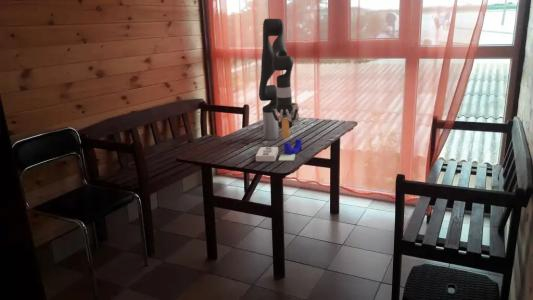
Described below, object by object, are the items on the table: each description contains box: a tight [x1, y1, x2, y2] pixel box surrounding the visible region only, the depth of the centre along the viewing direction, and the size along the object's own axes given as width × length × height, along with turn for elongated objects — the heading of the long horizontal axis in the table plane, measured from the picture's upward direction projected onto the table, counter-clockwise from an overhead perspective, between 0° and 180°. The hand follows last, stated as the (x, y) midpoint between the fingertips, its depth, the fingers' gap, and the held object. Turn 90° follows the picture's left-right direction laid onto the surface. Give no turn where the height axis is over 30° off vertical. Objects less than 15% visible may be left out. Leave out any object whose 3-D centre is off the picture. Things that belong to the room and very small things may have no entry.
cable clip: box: [283, 138, 303, 155], centre depth 243 cm, size 12×4×6 cm, turn 140°
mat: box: [278, 153, 296, 162], centre depth 235 cm, size 10×8×1 cm
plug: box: [281, 117, 291, 139], centre depth 230 cm, size 4×4×10 cm
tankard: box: [277, 102, 301, 127], centre depth 310 cm, size 20×13×15 cm, turn 84°
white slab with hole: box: [255, 146, 279, 162], centre depth 239 cm, size 16×10×3 cm, turn 171°
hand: (285, 128), depth 230 cm, fingers closed on plug, 4 cm apart
